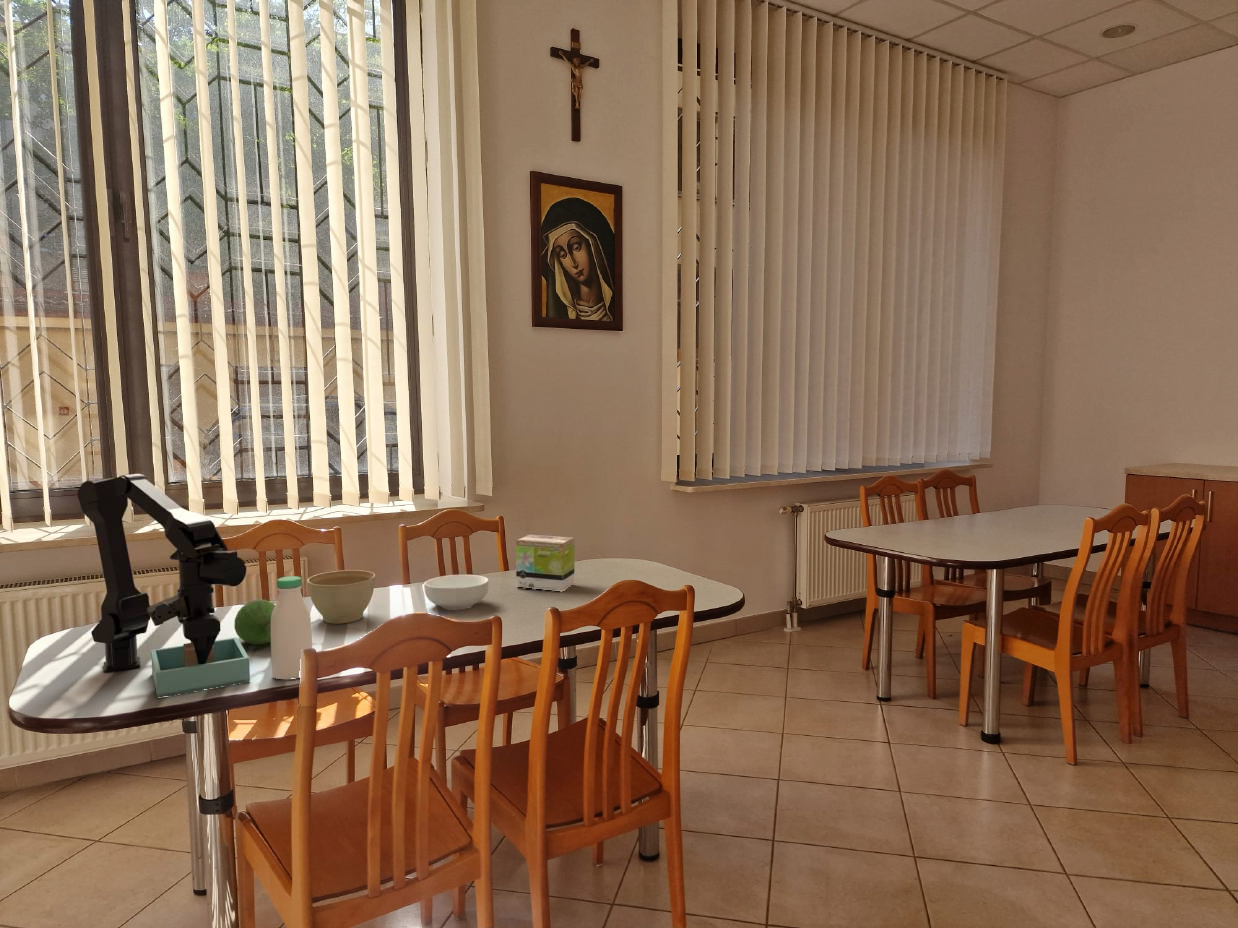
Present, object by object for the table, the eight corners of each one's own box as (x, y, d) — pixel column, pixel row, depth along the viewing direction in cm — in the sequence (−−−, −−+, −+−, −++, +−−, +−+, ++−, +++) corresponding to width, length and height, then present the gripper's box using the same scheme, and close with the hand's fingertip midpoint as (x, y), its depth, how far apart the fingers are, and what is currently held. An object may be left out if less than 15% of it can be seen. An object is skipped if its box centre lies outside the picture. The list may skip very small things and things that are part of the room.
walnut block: (184, 672, 163) (183, 643, 162) (212, 668, 165) (210, 639, 165) (187, 680, 159) (185, 650, 158) (215, 675, 161) (213, 646, 161)
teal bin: (152, 673, 164) (150, 650, 164) (238, 659, 173) (237, 637, 173) (157, 698, 151) (155, 672, 151) (250, 682, 160) (249, 657, 159)
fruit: (291, 648, 181) (290, 605, 180) (243, 657, 175) (241, 612, 174) (276, 632, 193) (275, 591, 192) (231, 639, 187) (229, 597, 186)
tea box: (515, 589, 236) (514, 539, 234) (528, 581, 245) (528, 533, 244) (563, 593, 231) (563, 542, 230) (575, 585, 241) (575, 536, 239)
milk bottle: (320, 674, 164) (316, 577, 163) (283, 684, 159) (279, 584, 157) (301, 665, 170) (298, 572, 168) (265, 675, 164) (261, 578, 162)
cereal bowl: (495, 599, 224) (495, 574, 224) (479, 615, 208) (479, 588, 207) (436, 597, 226) (435, 572, 225) (415, 613, 209) (415, 587, 209)
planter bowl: (305, 615, 208) (303, 573, 207) (369, 607, 215) (368, 567, 214) (312, 631, 194) (311, 587, 193) (381, 622, 201) (380, 580, 200)
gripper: (146, 578, 164) (150, 653, 165) (152, 597, 148) (156, 680, 150) (207, 571, 170) (210, 643, 171) (219, 589, 154) (222, 669, 156)
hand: (199, 658), depth 162 cm, fingers open, 9 cm apart
